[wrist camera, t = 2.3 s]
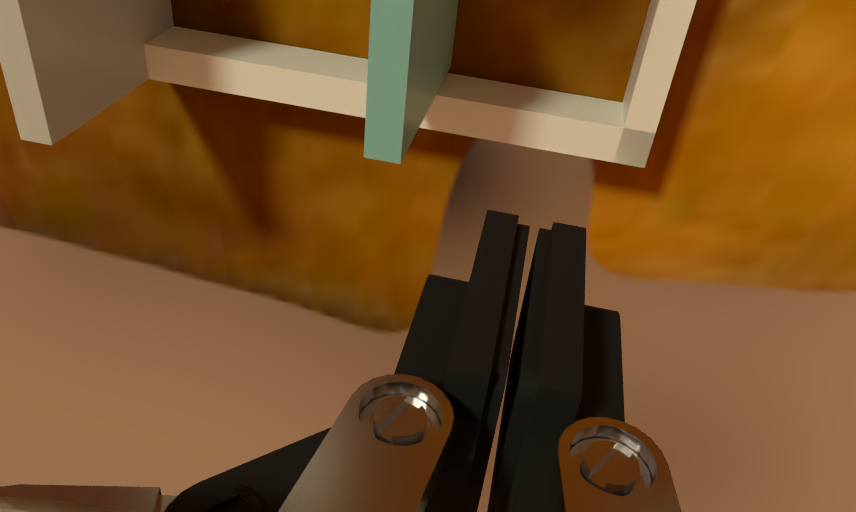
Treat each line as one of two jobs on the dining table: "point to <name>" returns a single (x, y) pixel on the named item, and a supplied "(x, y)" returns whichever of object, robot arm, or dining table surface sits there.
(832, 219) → the dining table surface
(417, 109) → the plate
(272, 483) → the robot arm
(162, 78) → the white angular frame
